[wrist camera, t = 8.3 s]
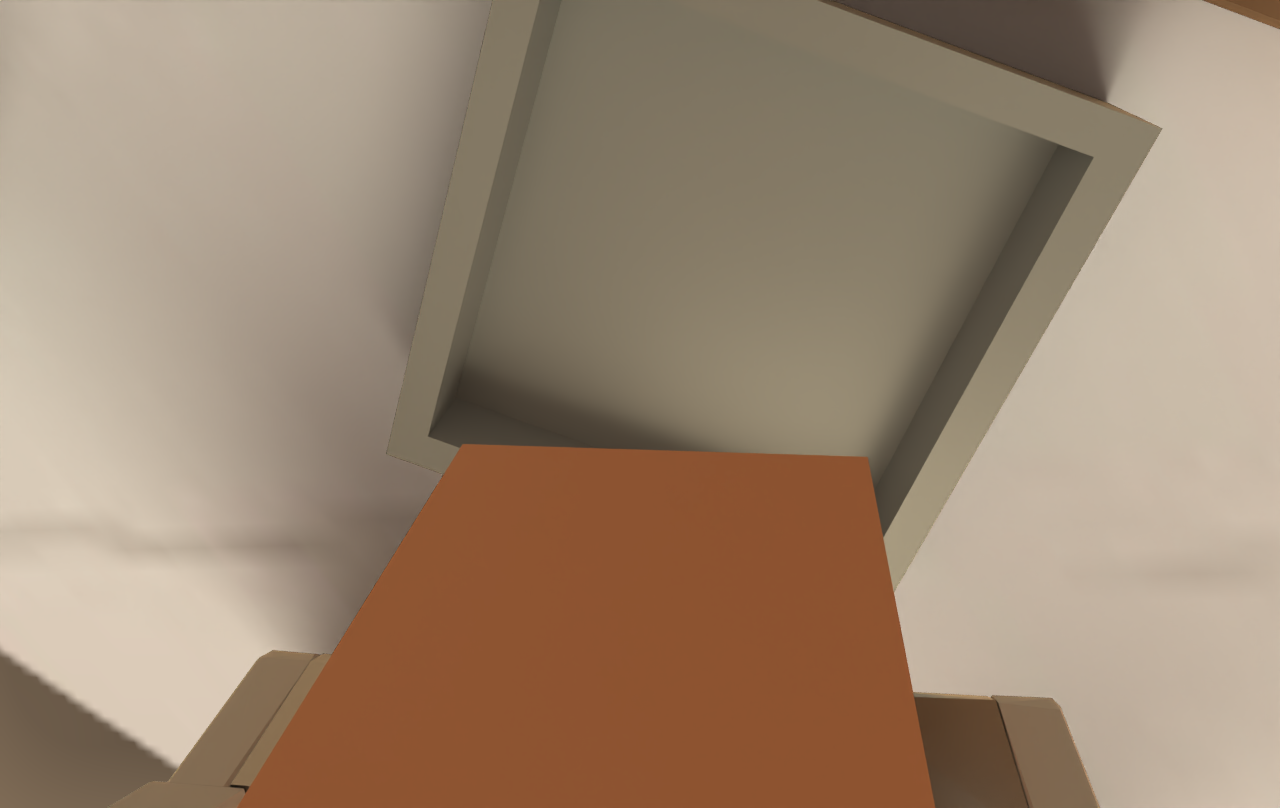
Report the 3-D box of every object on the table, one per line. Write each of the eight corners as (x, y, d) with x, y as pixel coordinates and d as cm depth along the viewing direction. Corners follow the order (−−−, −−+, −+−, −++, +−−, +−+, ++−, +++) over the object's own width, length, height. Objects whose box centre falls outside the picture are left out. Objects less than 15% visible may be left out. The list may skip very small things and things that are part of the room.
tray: (1107, 102, 19) (1162, 128, 16) (863, 551, 24) (873, 626, 21) (556, -103, 18) (518, -111, 16) (430, 396, 24) (386, 454, 21)
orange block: (867, 457, 9) (963, 955, 5) (842, 765, 11) (893, 1344, 6) (462, 443, 10) (191, 880, 5) (499, 740, 11) (322, 1262, 7)
